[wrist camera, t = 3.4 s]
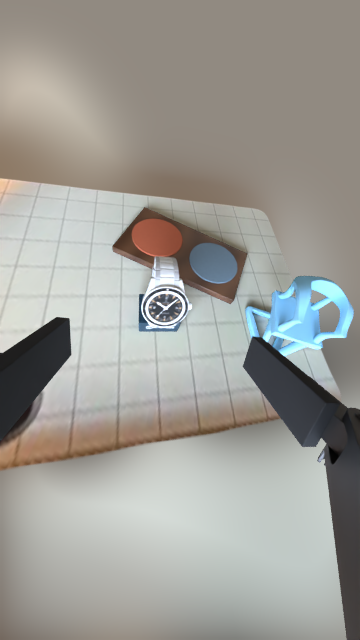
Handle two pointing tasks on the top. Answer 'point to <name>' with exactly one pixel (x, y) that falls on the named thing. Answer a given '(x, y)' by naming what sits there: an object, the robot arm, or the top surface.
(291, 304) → the chair
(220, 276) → the slate pad
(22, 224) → the top surface
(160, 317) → the watch
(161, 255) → the terracotta pad
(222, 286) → the desk board
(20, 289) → the top surface
